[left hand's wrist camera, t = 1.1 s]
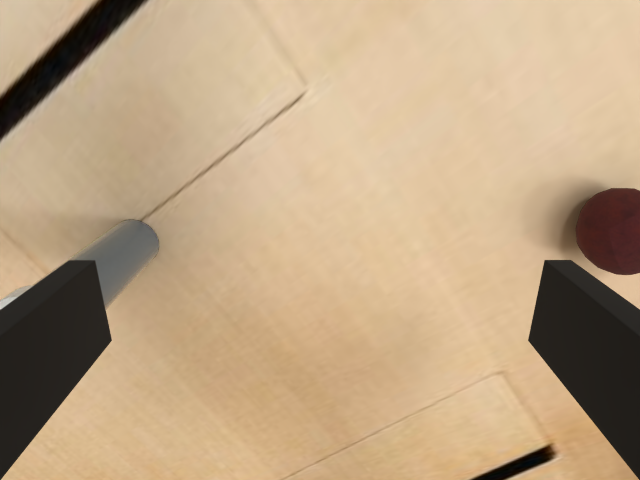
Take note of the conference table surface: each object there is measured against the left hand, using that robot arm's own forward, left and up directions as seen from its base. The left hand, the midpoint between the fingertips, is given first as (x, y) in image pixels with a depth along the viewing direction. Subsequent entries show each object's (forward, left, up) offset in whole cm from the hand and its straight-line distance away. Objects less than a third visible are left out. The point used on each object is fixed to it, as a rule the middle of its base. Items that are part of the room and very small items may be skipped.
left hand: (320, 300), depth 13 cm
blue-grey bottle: (+9, -18, -28) cm, 35 cm away
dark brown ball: (+6, +27, -28) cm, 39 cm away
